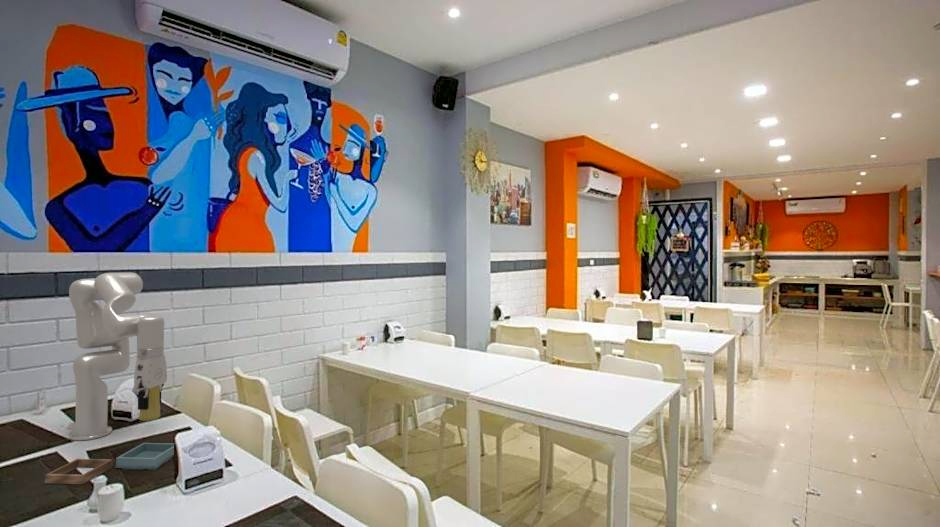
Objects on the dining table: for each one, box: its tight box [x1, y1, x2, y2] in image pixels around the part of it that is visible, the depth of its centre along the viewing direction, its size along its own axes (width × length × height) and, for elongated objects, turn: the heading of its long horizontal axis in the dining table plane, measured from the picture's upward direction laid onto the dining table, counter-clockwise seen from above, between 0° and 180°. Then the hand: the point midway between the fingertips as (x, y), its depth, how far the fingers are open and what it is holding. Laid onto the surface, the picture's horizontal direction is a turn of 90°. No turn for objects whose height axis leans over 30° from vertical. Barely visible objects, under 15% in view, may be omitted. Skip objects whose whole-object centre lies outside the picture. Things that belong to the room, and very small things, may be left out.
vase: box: [138, 385, 161, 422], centre depth 157 cm, size 6×6×14 cm
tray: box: [115, 442, 175, 471], centre depth 157 cm, size 13×13×4 cm
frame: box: [44, 458, 114, 485], centre depth 146 cm, size 12×12×2 cm
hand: (149, 405), depth 157 cm, fingers closed on vase, 5 cm apart
